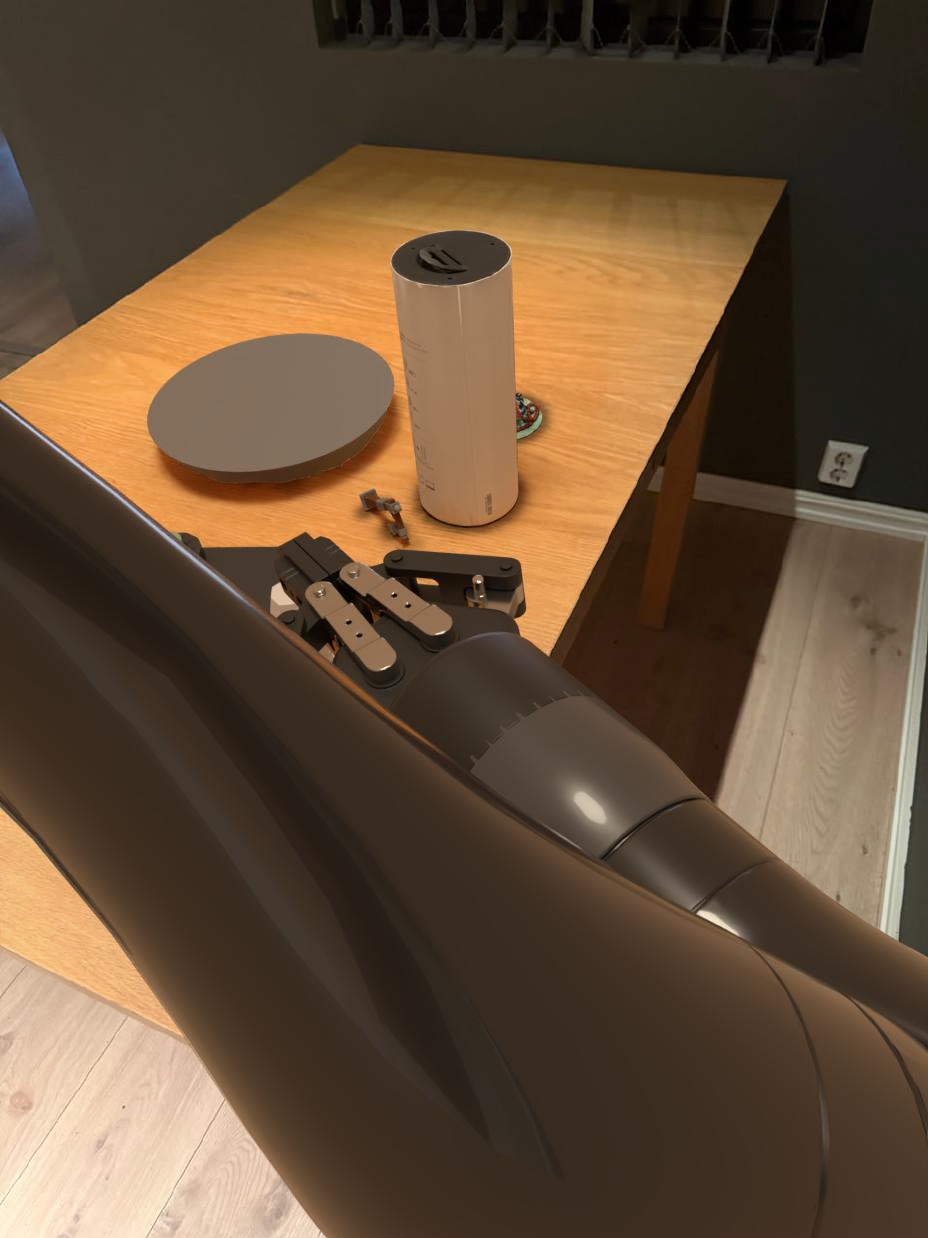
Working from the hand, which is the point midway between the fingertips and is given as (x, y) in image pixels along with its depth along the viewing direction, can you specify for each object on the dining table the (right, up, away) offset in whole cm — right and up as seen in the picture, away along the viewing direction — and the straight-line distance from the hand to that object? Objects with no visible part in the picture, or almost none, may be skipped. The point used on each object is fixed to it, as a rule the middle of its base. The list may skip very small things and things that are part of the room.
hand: (295, 554), depth 40 cm
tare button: (-20, +3, +45) cm, 49 cm away
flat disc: (-14, +19, +63) cm, 67 cm away
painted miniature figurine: (+12, +20, +61) cm, 65 cm away
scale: (-16, -2, +43) cm, 46 cm away
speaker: (+8, +10, +52) cm, 53 cm away
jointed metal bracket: (0, +7, +50) cm, 50 cm away
